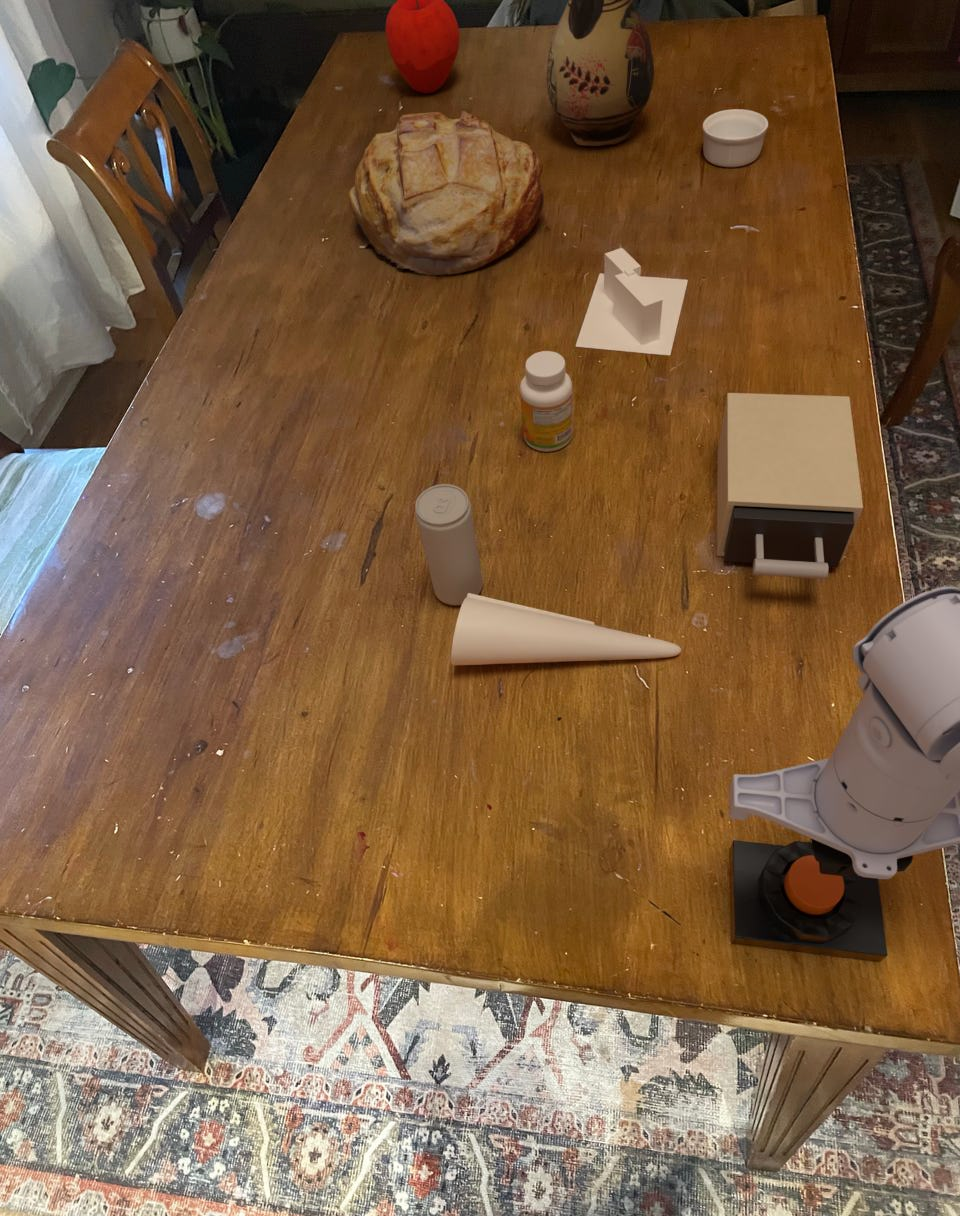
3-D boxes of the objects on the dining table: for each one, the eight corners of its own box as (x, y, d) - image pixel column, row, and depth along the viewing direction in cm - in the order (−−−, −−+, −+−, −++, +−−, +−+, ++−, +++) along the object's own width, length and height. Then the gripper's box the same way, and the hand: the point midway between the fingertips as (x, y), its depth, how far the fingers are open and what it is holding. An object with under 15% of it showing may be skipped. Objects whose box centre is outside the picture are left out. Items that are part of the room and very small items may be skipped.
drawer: (841, 605, 75) (859, 562, 70) (724, 597, 77) (734, 554, 72) (827, 463, 85) (842, 417, 80) (724, 459, 87) (732, 413, 82)
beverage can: (490, 574, 82) (478, 488, 72) (473, 613, 79) (458, 529, 70) (444, 564, 83) (425, 478, 73) (426, 602, 81) (404, 519, 71)
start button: (835, 866, 60) (842, 858, 58) (840, 918, 58) (846, 911, 56) (782, 860, 60) (787, 852, 59) (785, 912, 58) (790, 904, 57)
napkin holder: (672, 355, 98) (676, 313, 93) (574, 347, 100) (574, 305, 96) (688, 279, 106) (692, 236, 101) (598, 273, 109) (598, 231, 104)
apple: (477, 77, 145) (468, -15, 134) (440, 108, 139) (427, 15, 128) (419, 68, 149) (406, -22, 138) (381, 98, 144) (365, 7, 133)
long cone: (669, 722, 73) (450, 678, 75) (674, 663, 77) (467, 623, 79) (683, 683, 68) (450, 638, 71) (688, 623, 72) (468, 583, 75)
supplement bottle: (526, 418, 94) (521, 345, 86) (574, 419, 93) (574, 346, 85) (520, 452, 91) (515, 380, 83) (571, 454, 90) (570, 381, 82)
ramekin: (687, 160, 122) (690, 129, 119) (720, 133, 126) (724, 102, 122) (742, 176, 118) (747, 145, 115) (774, 148, 122) (780, 117, 118)
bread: (406, 177, 130) (380, 71, 118) (573, 187, 120) (562, 71, 108) (324, 270, 118) (286, 162, 106) (501, 290, 108) (480, 173, 96)
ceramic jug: (592, 99, 136) (594, -143, 112) (670, 124, 129) (691, -128, 104) (520, 144, 130) (506, -102, 105) (598, 173, 123) (602, -83, 98)
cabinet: (841, 563, 78) (863, 507, 72) (716, 556, 80) (727, 500, 74) (830, 455, 86) (849, 396, 80) (717, 450, 88) (727, 392, 82)
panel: (869, 862, 63) (882, 846, 60) (880, 962, 59) (895, 949, 56) (729, 847, 64) (736, 830, 61) (731, 943, 60) (738, 930, 58)
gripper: (748, 828, 42) (713, 908, 53) (1067, 862, 40) (962, 938, 51) (744, 704, 46) (713, 802, 57) (1034, 728, 44) (944, 826, 55)
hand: (830, 859), depth 54 cm, fingers closed
